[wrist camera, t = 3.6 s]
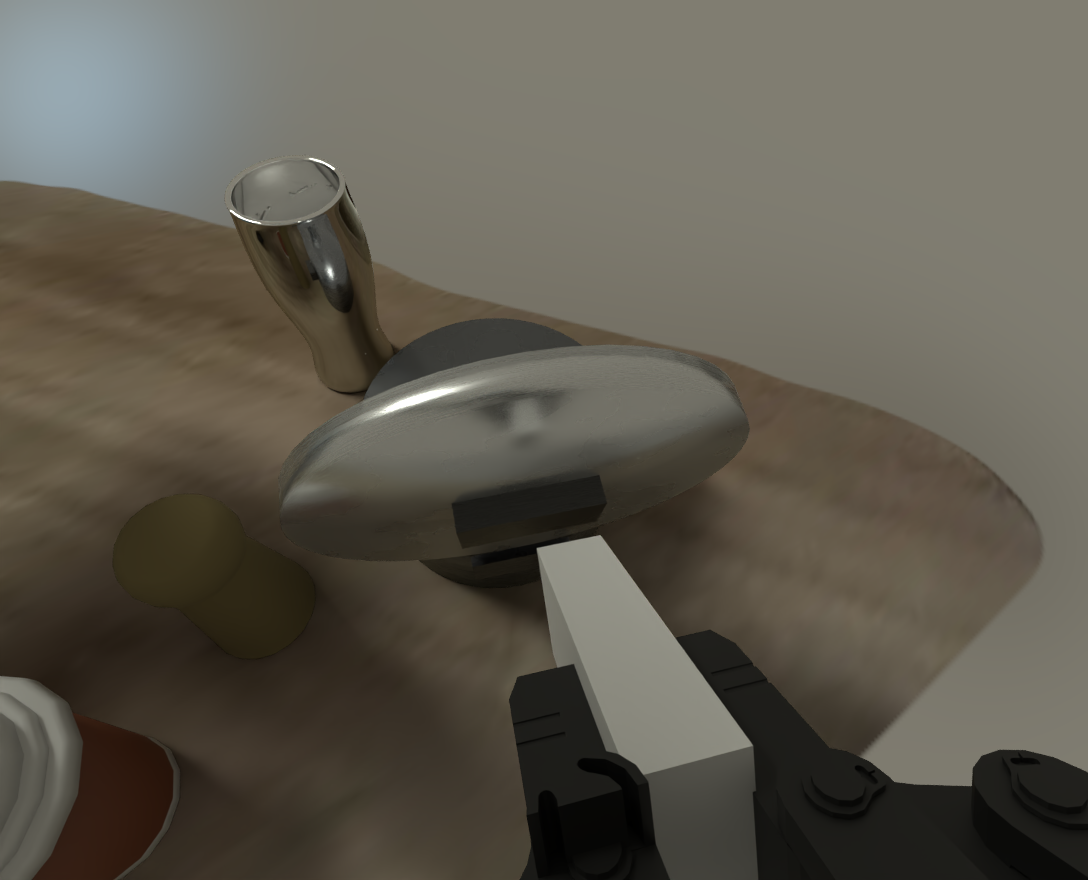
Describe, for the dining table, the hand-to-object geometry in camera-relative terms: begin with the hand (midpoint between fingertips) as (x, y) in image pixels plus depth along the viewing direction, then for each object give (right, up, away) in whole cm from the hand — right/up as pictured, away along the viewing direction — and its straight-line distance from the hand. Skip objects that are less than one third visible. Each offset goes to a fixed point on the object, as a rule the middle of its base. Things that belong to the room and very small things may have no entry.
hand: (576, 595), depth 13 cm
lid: (-2, +3, +7) cm, 8 cm away
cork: (-18, -7, +21) cm, 28 cm away
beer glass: (-16, +10, +31) cm, 36 cm away
